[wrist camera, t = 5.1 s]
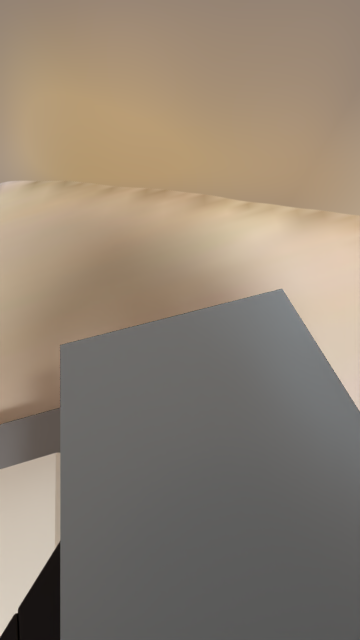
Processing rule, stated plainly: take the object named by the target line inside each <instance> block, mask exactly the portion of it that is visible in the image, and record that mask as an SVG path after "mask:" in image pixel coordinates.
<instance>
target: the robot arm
mask: <svg viewBox="0 0 360 640" xmlns="http://www.w3.org/2000/svg"><path fill="white" fill-rule="evenodd" d="M0 640H60V542H59V543H58V545H57V547H56V548H55V550H54V551H53V553H52V555H51V556H50V558H49V559H48V561H47V563H46V564H45V566H44V567H43V569H42V571H41V572H40V574H39V575H38V577H37V579H36V580H35V582H34V583H33V585H32V587H31V588H30V590H29V592H28V593H27V595H26V596H25V598H24V600H23V601H22V603H21V604H20V606H19V608H18V613H15V614H14V615H13V617H12V619H11V620H10V622H9V623H8V625H7V627H6V628H5V630H4V631H3V633H2V635H1V636H0Z"/></svg>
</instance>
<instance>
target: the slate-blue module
mask: <svg viewBox="0 0 360 640" xmlns="http://www.w3.org/2000/svg"><path fill="white" fill-rule="evenodd" d="M60 640H360V411H359V410H358V408H357V407H356V405H355V404H354V402H353V400H352V399H351V397H350V396H349V394H348V392H347V391H346V389H345V388H344V386H343V384H342V383H341V381H340V380H339V378H338V377H337V375H336V373H335V372H334V370H333V369H332V367H331V365H330V364H329V362H328V361H327V359H326V358H325V356H324V354H323V353H322V351H321V350H320V348H319V346H318V345H317V343H316V342H315V340H314V338H313V337H312V335H311V334H310V332H309V331H308V329H307V327H306V326H305V324H304V323H303V321H302V319H301V318H300V316H299V315H298V313H297V312H296V310H295V308H294V307H293V305H292V304H291V302H290V300H289V299H288V297H287V296H286V294H285V293H284V291H283V289H279V290H275V291H271V292H267V293H263V294H259V295H255V296H251V297H247V298H243V299H240V300H236V301H232V302H228V303H224V304H220V305H216V306H212V307H208V308H204V309H200V310H196V311H192V312H188V313H184V314H180V315H176V316H173V317H169V318H165V319H161V320H157V321H153V322H149V323H145V324H141V325H137V326H133V327H129V328H125V329H121V330H117V331H113V332H110V333H106V334H102V335H98V336H94V337H90V338H86V339H82V340H78V341H74V342H70V343H66V344H62V345H60Z"/></svg>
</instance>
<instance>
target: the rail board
mask: <svg viewBox="0 0 360 640" xmlns="http://www.w3.org/2000/svg"><path fill="white" fill-rule="evenodd" d="M59 542H60V408H57V409H54V410H50V411H47V412H43V413H39V414H36V415H32V416H29V417H25V418H22V419H18V420H14V421H11V422H7V423H4V424H0V636H1V635H2V633H3V631H4V630H5V628H6V627H7V625H8V623H9V622H10V620H11V619H12V617H13V615H14V614H15V613H18V608H19V606H20V604H21V603H22V601H23V600H24V598H25V596H26V595H27V593H28V592H29V590H30V588H31V587H32V585H33V583H34V582H35V580H36V579H37V577H38V575H39V574H40V572H41V571H42V569H43V567H44V566H45V564H46V563H47V561H48V559H49V558H50V556H51V555H52V553H53V551H54V550H55V548H56V547H57V545H58V543H59Z"/></svg>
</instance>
